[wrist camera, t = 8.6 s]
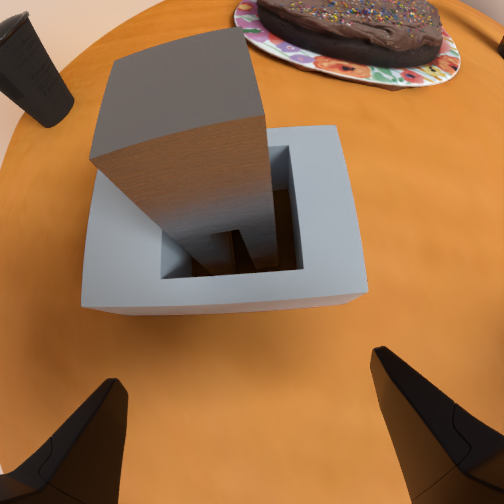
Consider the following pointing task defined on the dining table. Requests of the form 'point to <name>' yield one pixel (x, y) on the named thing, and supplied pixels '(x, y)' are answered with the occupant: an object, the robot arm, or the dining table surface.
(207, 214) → the grey rectangular block
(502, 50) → the deodorant
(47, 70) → the drinking cup
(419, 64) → the chocolate cake
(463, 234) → the dining table surface
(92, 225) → the rectangular frame
